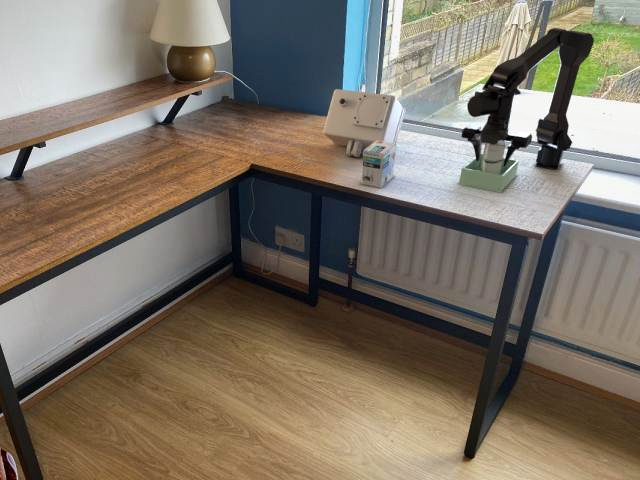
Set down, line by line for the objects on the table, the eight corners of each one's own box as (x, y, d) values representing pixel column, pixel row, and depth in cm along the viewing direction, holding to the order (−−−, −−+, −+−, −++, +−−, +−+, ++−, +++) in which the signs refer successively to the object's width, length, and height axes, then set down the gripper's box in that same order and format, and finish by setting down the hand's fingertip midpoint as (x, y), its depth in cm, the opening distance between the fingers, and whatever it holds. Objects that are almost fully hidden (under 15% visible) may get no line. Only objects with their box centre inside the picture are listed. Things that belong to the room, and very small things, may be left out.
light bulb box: (381, 188, 179) (384, 153, 173) (360, 184, 182) (362, 150, 176) (394, 176, 186) (397, 142, 181) (373, 172, 190) (376, 139, 184)
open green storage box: (515, 175, 184) (519, 160, 181) (500, 192, 174) (503, 176, 171) (476, 168, 190) (479, 153, 187) (459, 183, 180) (461, 168, 177)
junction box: (310, 144, 201) (328, 80, 200) (326, 156, 215) (343, 96, 213) (377, 155, 190) (396, 87, 189) (389, 167, 204) (407, 104, 202)
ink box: (498, 184, 178) (506, 145, 171) (481, 183, 179) (488, 144, 172) (496, 173, 185) (503, 135, 178) (479, 172, 186) (486, 134, 179)
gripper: (458, 113, 170) (450, 166, 178) (526, 123, 160) (514, 178, 169) (472, 104, 178) (464, 155, 186) (537, 113, 168) (526, 166, 176)
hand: (491, 163), depth 179 cm, fingers open, 8 cm apart
